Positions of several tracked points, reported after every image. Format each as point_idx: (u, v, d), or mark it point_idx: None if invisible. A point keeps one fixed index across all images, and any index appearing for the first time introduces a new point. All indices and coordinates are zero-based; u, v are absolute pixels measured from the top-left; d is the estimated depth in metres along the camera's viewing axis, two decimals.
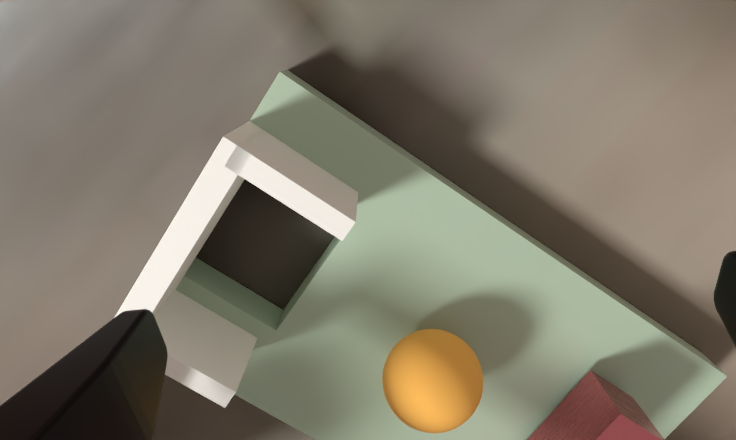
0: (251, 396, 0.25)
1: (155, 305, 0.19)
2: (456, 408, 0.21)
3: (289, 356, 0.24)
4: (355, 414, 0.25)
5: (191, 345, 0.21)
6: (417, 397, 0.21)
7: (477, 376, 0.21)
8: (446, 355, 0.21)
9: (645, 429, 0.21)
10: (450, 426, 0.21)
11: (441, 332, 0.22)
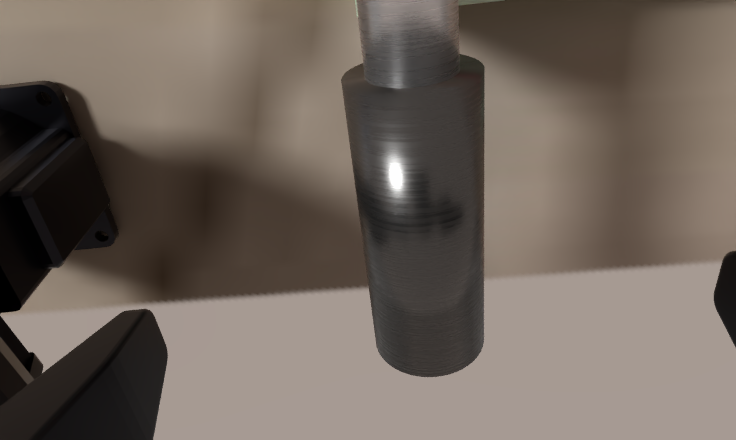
0: None
1: None
2: None
3: None
4: None
5: None
6: None
7: None
8: None
9: None
10: None
11: None
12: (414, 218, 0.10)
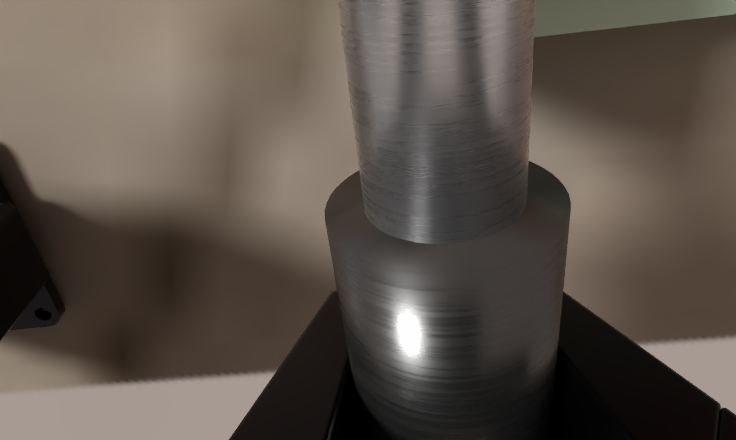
0: None
1: None
2: None
3: None
4: None
5: None
6: None
7: None
8: None
9: None
10: None
11: None
12: None
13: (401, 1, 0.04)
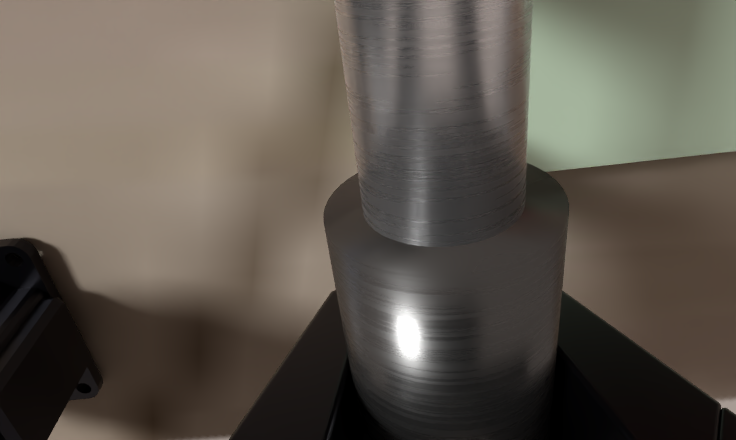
0: None
1: None
2: None
3: None
4: None
5: None
6: None
7: None
8: None
9: None
10: None
11: None
12: None
13: (398, 6, 0.04)
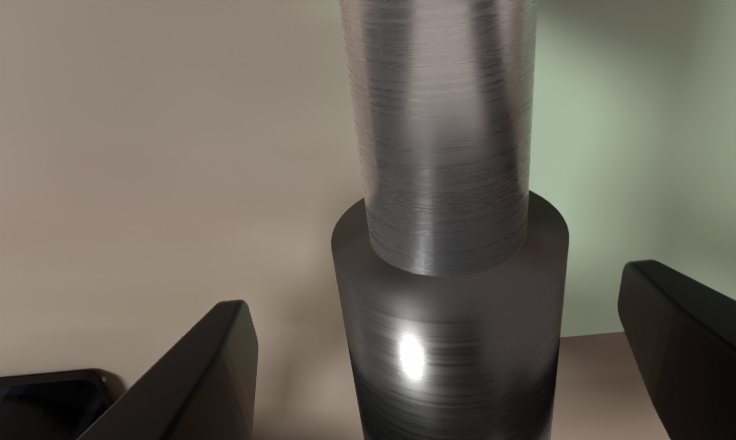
0: None
1: None
2: None
3: None
4: None
5: None
6: None
7: None
8: None
9: None
10: None
11: None
12: None
13: (407, 52, 0.04)
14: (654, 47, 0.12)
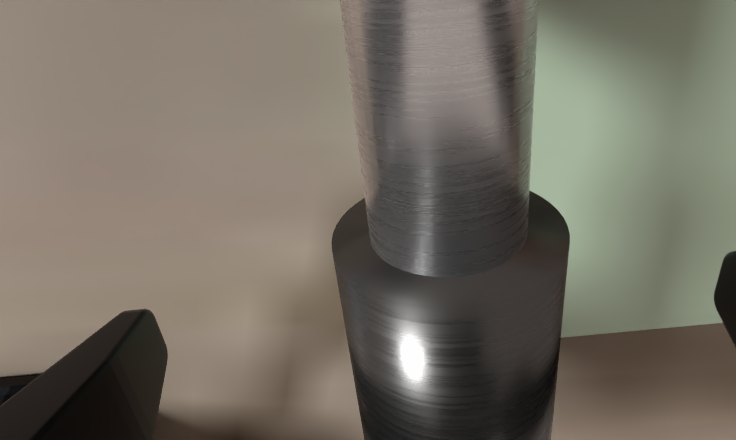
0: None
1: None
2: None
3: None
4: None
5: None
6: None
7: None
8: None
9: None
10: None
11: None
12: None
13: (408, 53, 0.04)
14: (654, 47, 0.12)
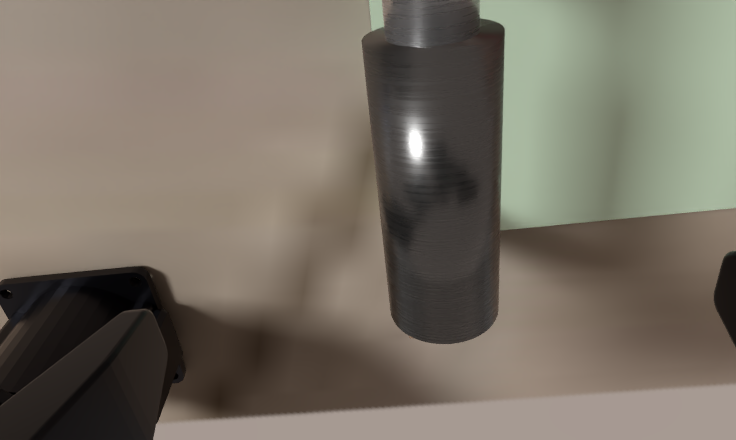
0: None
1: None
2: None
3: None
4: None
5: None
6: None
7: None
8: None
9: None
10: None
11: None
12: (434, 179, 0.10)
13: None
14: None
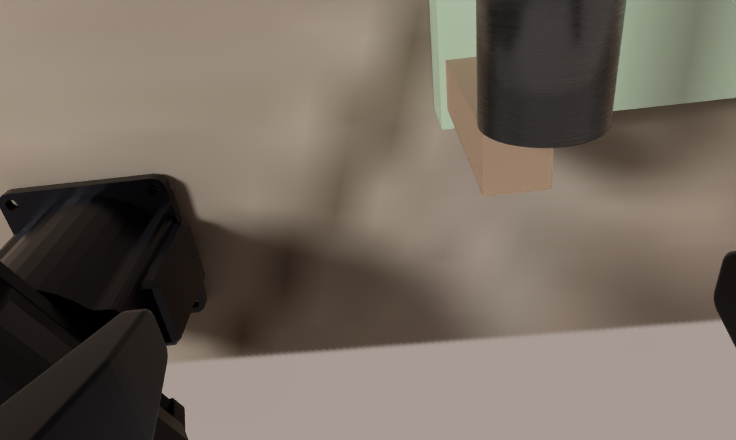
0: None
1: None
2: None
3: None
4: None
5: None
6: None
7: None
8: None
9: None
10: None
11: None
12: None
13: None
14: None
